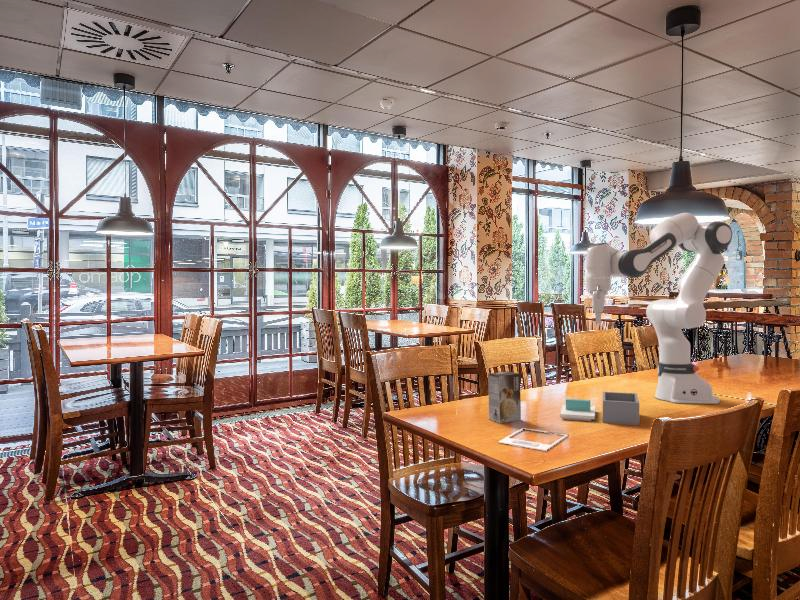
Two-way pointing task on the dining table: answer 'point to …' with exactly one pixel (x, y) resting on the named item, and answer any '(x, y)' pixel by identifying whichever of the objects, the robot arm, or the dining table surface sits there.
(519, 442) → the photo frame
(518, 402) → the coffee box
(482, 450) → the dining table surface
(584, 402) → the lid
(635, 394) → the tub
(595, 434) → the dining table surface
